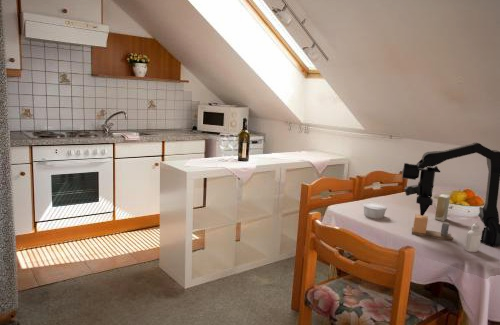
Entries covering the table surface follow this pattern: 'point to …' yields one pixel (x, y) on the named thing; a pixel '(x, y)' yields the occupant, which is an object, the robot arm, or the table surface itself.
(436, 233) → the board
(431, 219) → the table surface
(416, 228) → the orange block
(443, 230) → the near post
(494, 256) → the table surface
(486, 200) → the robot arm
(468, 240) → the eye dropper bottle
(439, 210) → the skincare box
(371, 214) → the ramekin
